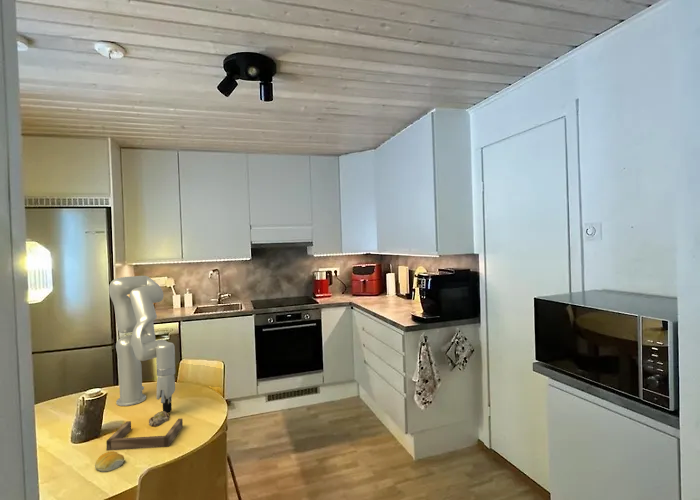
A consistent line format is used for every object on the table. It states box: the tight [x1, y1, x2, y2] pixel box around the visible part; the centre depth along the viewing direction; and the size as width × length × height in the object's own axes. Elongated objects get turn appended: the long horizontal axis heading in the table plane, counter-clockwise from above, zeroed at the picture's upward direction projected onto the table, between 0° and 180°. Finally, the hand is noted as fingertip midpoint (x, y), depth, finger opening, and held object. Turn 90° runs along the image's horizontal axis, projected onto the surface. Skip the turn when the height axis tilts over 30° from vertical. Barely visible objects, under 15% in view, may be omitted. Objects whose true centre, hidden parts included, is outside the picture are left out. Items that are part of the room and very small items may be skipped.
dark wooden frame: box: [105, 417, 184, 451], centre depth 156 cm, size 16×22×4 cm
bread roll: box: [94, 450, 125, 473], centre depth 137 cm, size 8×9×4 cm
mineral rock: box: [148, 410, 170, 428], centre depth 170 cm, size 11×4×8 cm
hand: (167, 411), depth 177 cm, fingers closed
